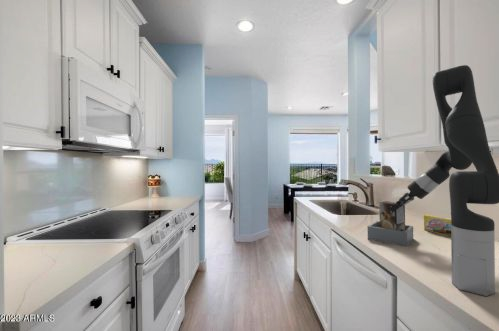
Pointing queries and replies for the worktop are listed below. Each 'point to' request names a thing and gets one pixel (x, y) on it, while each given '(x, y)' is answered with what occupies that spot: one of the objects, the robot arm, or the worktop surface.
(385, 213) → the coffee box
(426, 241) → the worktop surface
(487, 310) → the worktop surface
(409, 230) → the bin
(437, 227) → the candy box
